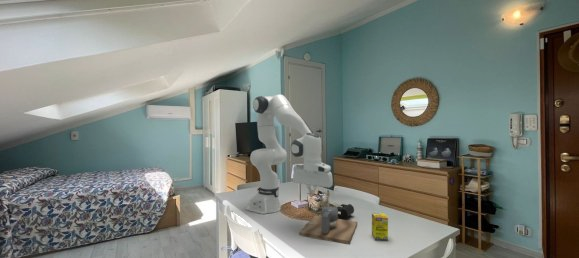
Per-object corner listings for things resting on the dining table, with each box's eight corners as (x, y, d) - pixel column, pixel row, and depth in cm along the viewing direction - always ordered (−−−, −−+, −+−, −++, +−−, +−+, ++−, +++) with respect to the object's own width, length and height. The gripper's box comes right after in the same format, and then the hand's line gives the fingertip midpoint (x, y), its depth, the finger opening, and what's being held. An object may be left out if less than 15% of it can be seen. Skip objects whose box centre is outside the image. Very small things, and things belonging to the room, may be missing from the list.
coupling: (324, 220, 131) (324, 205, 131) (339, 222, 128) (339, 207, 128) (316, 232, 117) (316, 214, 117) (332, 234, 114) (332, 217, 114)
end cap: (347, 221, 136) (347, 209, 136) (335, 218, 141) (335, 207, 141) (354, 216, 145) (354, 204, 144) (343, 213, 149) (342, 202, 149)
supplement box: (375, 240, 113) (375, 217, 113) (371, 235, 119) (371, 212, 119) (388, 241, 113) (388, 217, 113) (384, 235, 119) (383, 212, 119)
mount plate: (299, 235, 120) (299, 223, 120) (314, 218, 142) (314, 208, 142) (349, 244, 110) (349, 232, 110) (357, 224, 132) (357, 214, 132)
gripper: (290, 165, 124) (290, 192, 124) (329, 169, 114) (329, 198, 115) (296, 163, 129) (295, 189, 130) (334, 167, 120) (333, 195, 120)
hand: (311, 193), depth 122 cm, fingers closed
